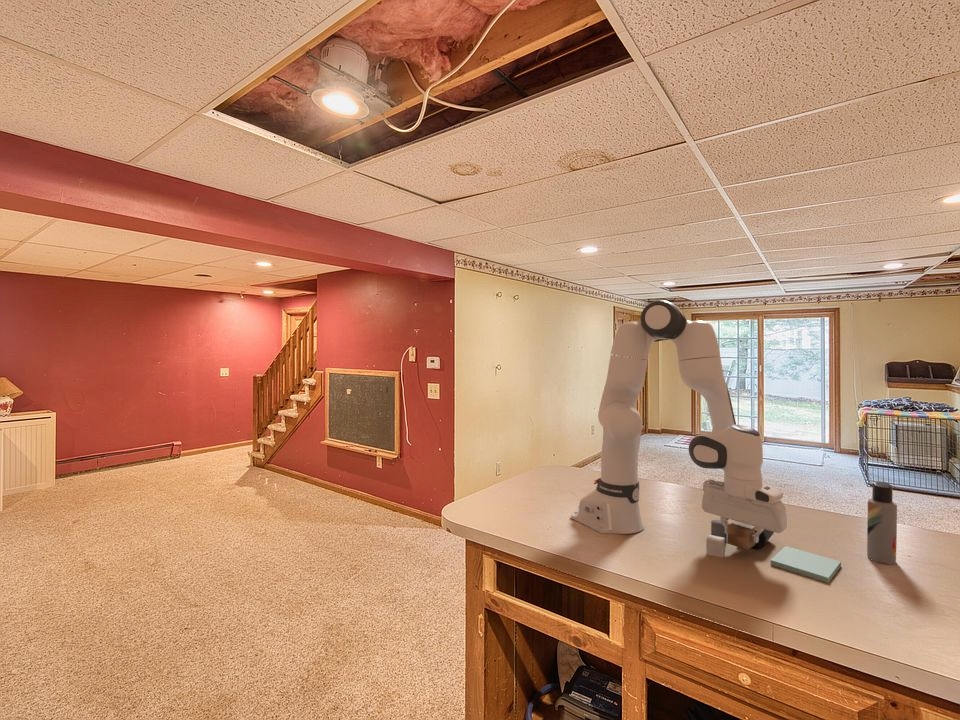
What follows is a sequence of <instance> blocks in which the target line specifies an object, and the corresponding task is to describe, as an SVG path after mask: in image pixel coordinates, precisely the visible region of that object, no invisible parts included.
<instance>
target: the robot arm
mask: <svg viewBox="0 0 960 720" xmlns="http://www.w3.org/2000/svg"><path fill="white" fill-rule="evenodd" d="M669 340H670V341H672V343H674V345H675V348H676V352H677V360H678V369H679V374H680V378H681V379H682V382H683V383H684V385H685V386H687V387H688V388H690V389H691V390H693V391H695V392H697V393H698V394H700V395H701V396H702V397H703V398H704V399H705V401H706V404H707V407H708V412H709V416H710V417H709V418H710V421H711V427H712V429H711V432H707V433H701V434H698V435H697V436H694V437H693V438H692V439H691V440H690V442H689V444H688V455H689V457H690V459H691V461H692V462H693V463H694V464H695V465H696V466H698V467H700V468H703V469H708V470H709V469H712V470H713V469H714V470H718V469H721V470H722V471H723V473H724V474H723V481H719V480H718V481H717V480H714V479H708V480H705V481H703V484H702V491H703V494H702V495H703V496H702V501H701V509H702V510H703V512H704V513H707V514H709V515H710V514H711V515H715V516H718V517H720V519H719V520H721V522H722V524H723V526H724V527H725V534H727V531H728V525H729V524H730V523H729V520H731V521H738V522H741V523H745V524H748V525H752V526H755V530H756V531H757V532H756V533H755V534H752V535H750V538H751V539H750V541H751V542H754V543H758V541H759V535H760V534H761V533H762V532H763V530H764V529H766V530H769V531H773V532H774V533H777V534H780V533H783V532H784V531H786V530H787V528H788V515H787V508H786V506H785V504H784V502H782V501H781V500H782V499H783V498H784V493H783V491H782V490H779V489H778V488H776V487H774V486H772V485H770V484H769V483H766V482H764V481H763V474H762V466H763V462H764V461H763V460H764V453H763V451H764V450H763V449H764V448H763V441H762V437H761V434H760V432H759V431H757V430H756V429H754V428H752V427H750V426H747V425H741V424H737V422H736V418H735V412H734V408H733V404H732V399H731V395H730V392H729V388H728V385H727V382H726V379H725V375H724V370H723V365H722V358H721V351H720V346H719V343H718V339H717V335H716V333H715V330H714V327H713V326H712V325H711V323H709V322H707V321H704V320H699V319H698V320H688V319H687V318H686V316H685V314H684V312H683V310H682V309H681V308H680V307H679V306H678V305H676V304H674V303H673V302H670V301H668V300H666V299H665V300H663V299H660V300H653V301H652V302H649V303H648V304H647V305H646V306H644V308H643V310H642V311H641V314H640V320H639V321H632V320H631V321H626V322H623V323H622V324H620V325H619V326H618V327H617V330H616V333H615V334H614V339H613V342H612V346H611V351H610V357H609V362H608V363H609V364H608V370H607V375H606V380H605V385H604V386H603V387H604V388H603V391H602V395H601V399H600V402H599V403H600V404H599V408H598V414H597V419H598V422H599V424H600V426H602V432H603V433H602V443H601V444H602V445H601V446H602V447H601V452H600V477H599V478H597V479H596V480H593V485H596V484H597V485H596V486H595V487H596V488H594V489H593V490H592V491H590V492H589V493H587V494H586V495H584V496H582V498H581V499H580V501H579V504H578V509H576V510H574V511H573V512H572V513H571V519H572V520H574V521H576V522H578V523H580V524H582V525H585V526H587V527H588V528H590V529H592V530H594V531H597V532H598V533H600V534H604V535H605V534H621V535H622V534H623V535H625V534H626V535H627V534H636V533H639V532H641V531H643V530H644V524H643V520H642V517H641V516H642V515H641V510H640V504H639V502H640V501H639V500H640V481H639V479H638V478H639V470H638V469H639V468H638V467H639V466H638V465H639V462H638V461H639V451H640V443H641V436H642V430H643V419H642V416H641V413H640V412H639V411H638V409H636V407H637V403H638V400H639V397H640V394H641V391H642V390H643V387H644V383H645V379H646V372H647V366H648V359H649V352H650V349H651V346H652V344H653V343H656V342H661V341H669Z"/></svg>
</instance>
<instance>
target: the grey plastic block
mask: <svg viewBox="0 0 960 720" xmlns="http://www.w3.org/2000/svg"><path fill="white" fill-rule="evenodd" d="M705 541H706V548H705V549H706V555H709V556H712V557H713V556H714V557H717V558H721V559H724V557H725V553H726V542H725V538H723V537H718V536H713V535H711V534H708V535H707V538H706V540H705Z"/></svg>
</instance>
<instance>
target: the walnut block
mask: <svg viewBox="0 0 960 720" xmlns="http://www.w3.org/2000/svg"><path fill="white" fill-rule="evenodd" d="M752 534H755V526H752V525H748V524H745V523H741V522H738V521H735V520H733V522H731V523H729V525H728V531H727V542H726V544H728V545H731V546H733V547H734V546H735V547H737V548H740V549H742V550H746V551H748V550H750V549H751V547H753V546H754V545H755V543H754V542H751V541H750V539H751V538H750V535H752Z"/></svg>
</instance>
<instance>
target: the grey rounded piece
mask: <svg viewBox="0 0 960 720" xmlns="http://www.w3.org/2000/svg"><path fill="white" fill-rule="evenodd" d="M710 521H711V522H710V525H711V526H710V527H711V528H710V535H713V536H718V537H723V538H725V543H727V534H725V527H724V526H723V524H722V522H721V520H720V519H713V520H710Z"/></svg>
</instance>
